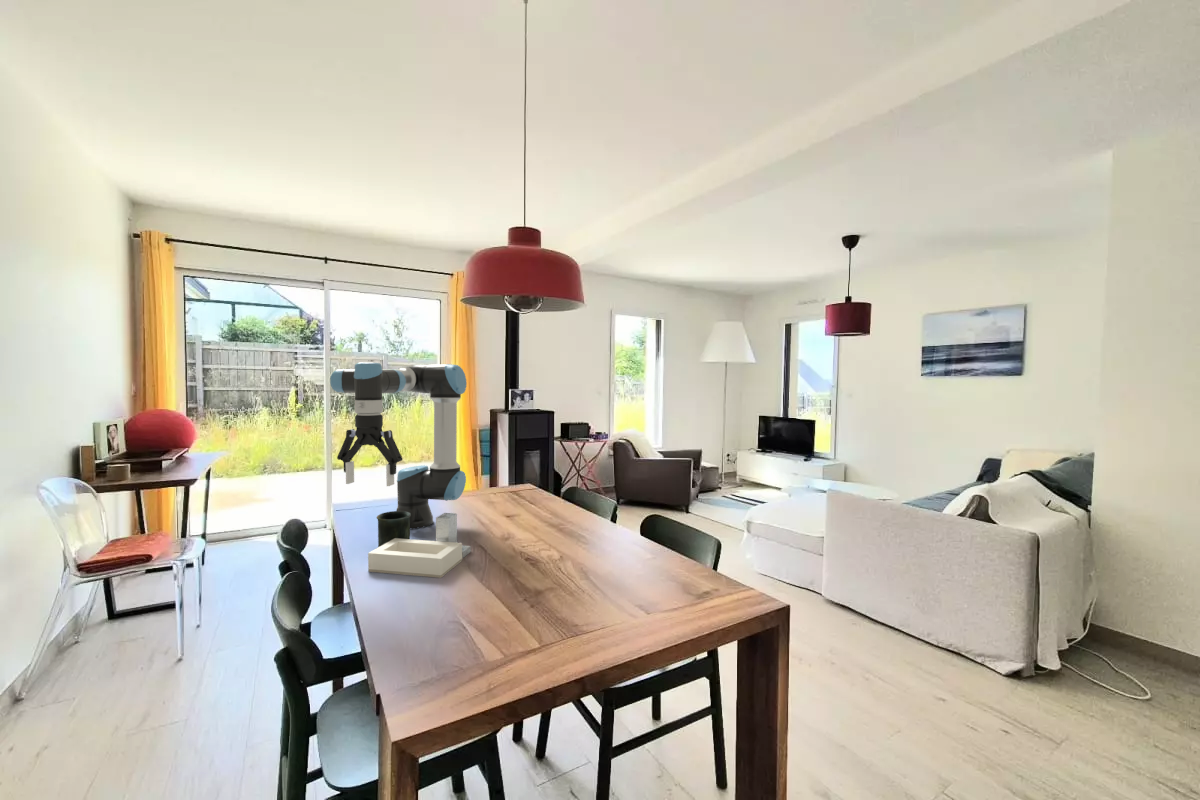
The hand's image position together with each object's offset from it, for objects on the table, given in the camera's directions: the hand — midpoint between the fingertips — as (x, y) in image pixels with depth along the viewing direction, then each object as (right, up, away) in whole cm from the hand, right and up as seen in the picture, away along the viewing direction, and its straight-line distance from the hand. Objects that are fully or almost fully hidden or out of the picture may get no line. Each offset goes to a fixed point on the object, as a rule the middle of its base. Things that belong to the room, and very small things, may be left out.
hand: (370, 484), depth 148 cm
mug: (-3, -26, +23) cm, 35 cm away
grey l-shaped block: (+20, -27, +18) cm, 38 cm away
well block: (+12, -27, +7) cm, 30 cm away
